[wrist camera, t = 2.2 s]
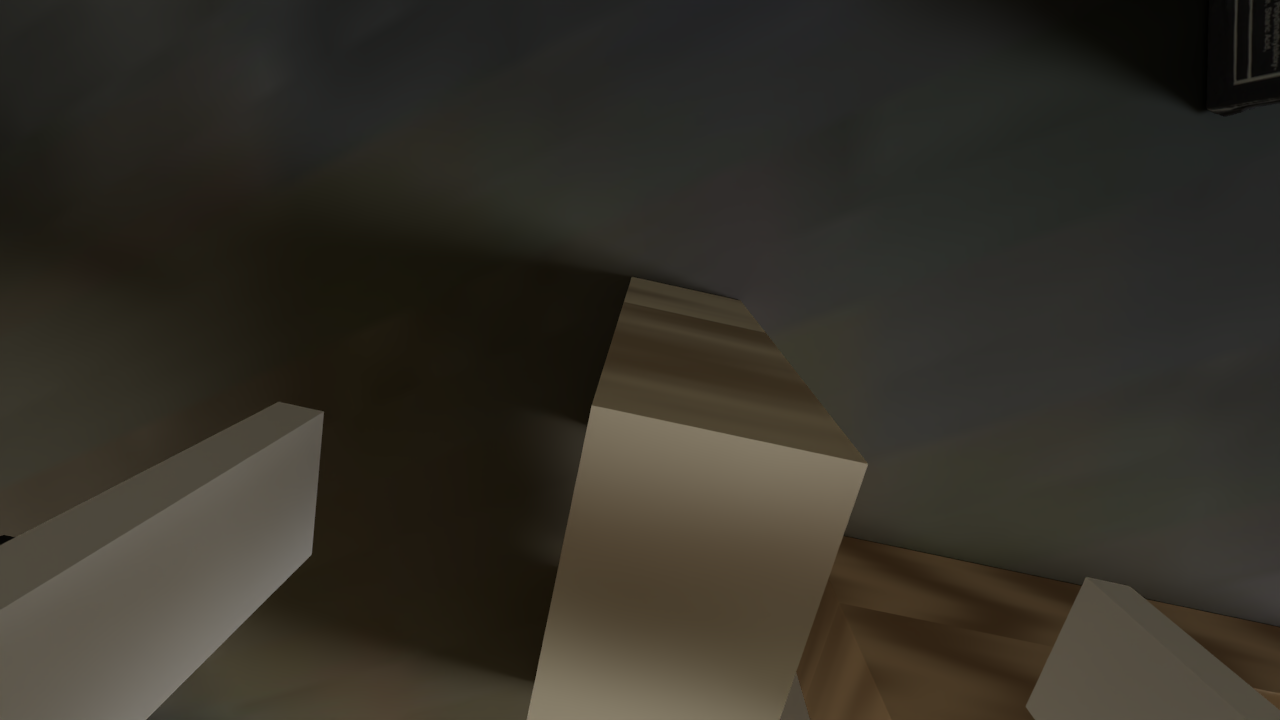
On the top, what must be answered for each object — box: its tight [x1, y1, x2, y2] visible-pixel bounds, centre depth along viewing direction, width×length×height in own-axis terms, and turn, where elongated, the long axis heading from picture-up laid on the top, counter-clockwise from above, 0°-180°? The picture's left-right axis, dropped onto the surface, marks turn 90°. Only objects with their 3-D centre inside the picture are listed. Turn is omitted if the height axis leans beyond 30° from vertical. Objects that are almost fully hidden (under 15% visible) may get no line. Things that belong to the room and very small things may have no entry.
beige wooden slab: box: [527, 277, 868, 720], centre depth 15 cm, size 16×4×12 cm, turn 168°
